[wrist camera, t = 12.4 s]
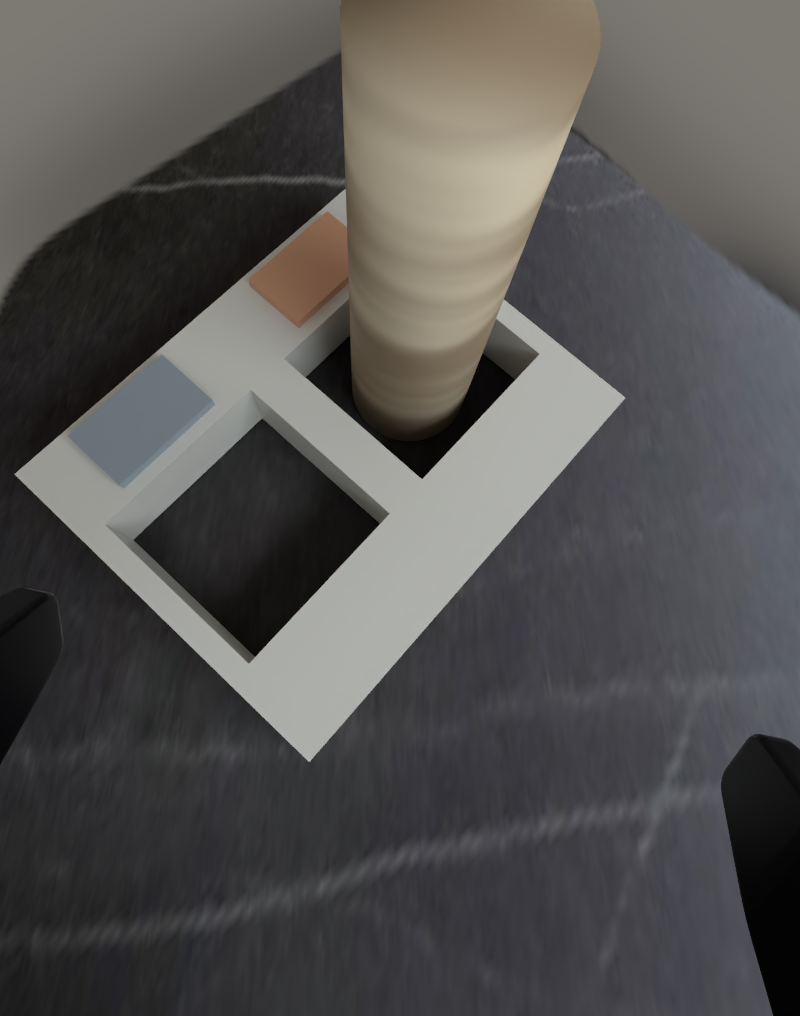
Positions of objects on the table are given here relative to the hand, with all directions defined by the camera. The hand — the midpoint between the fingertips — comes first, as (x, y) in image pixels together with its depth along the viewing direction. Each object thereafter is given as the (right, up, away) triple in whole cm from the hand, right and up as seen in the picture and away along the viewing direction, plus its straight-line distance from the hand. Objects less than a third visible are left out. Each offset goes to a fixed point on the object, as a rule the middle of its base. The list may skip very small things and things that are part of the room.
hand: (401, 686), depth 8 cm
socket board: (-2, +4, +15) cm, 16 cm away
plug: (0, +7, +16) cm, 17 cm away
